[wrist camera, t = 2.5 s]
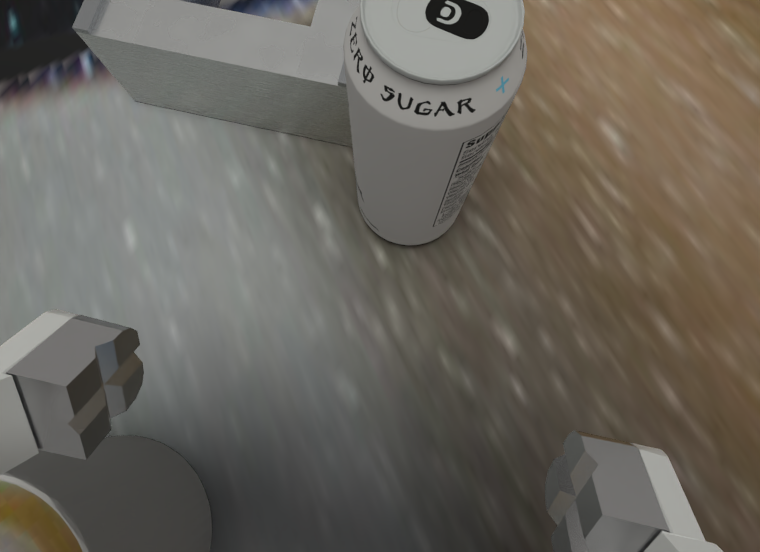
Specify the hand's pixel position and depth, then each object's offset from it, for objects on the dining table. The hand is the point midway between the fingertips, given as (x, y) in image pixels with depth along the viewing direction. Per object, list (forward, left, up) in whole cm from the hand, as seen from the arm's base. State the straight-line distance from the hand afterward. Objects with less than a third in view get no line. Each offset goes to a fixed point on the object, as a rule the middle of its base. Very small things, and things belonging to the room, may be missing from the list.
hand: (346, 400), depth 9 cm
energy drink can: (0, -11, -18) cm, 21 cm away
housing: (+11, -21, -17) cm, 30 cm away
